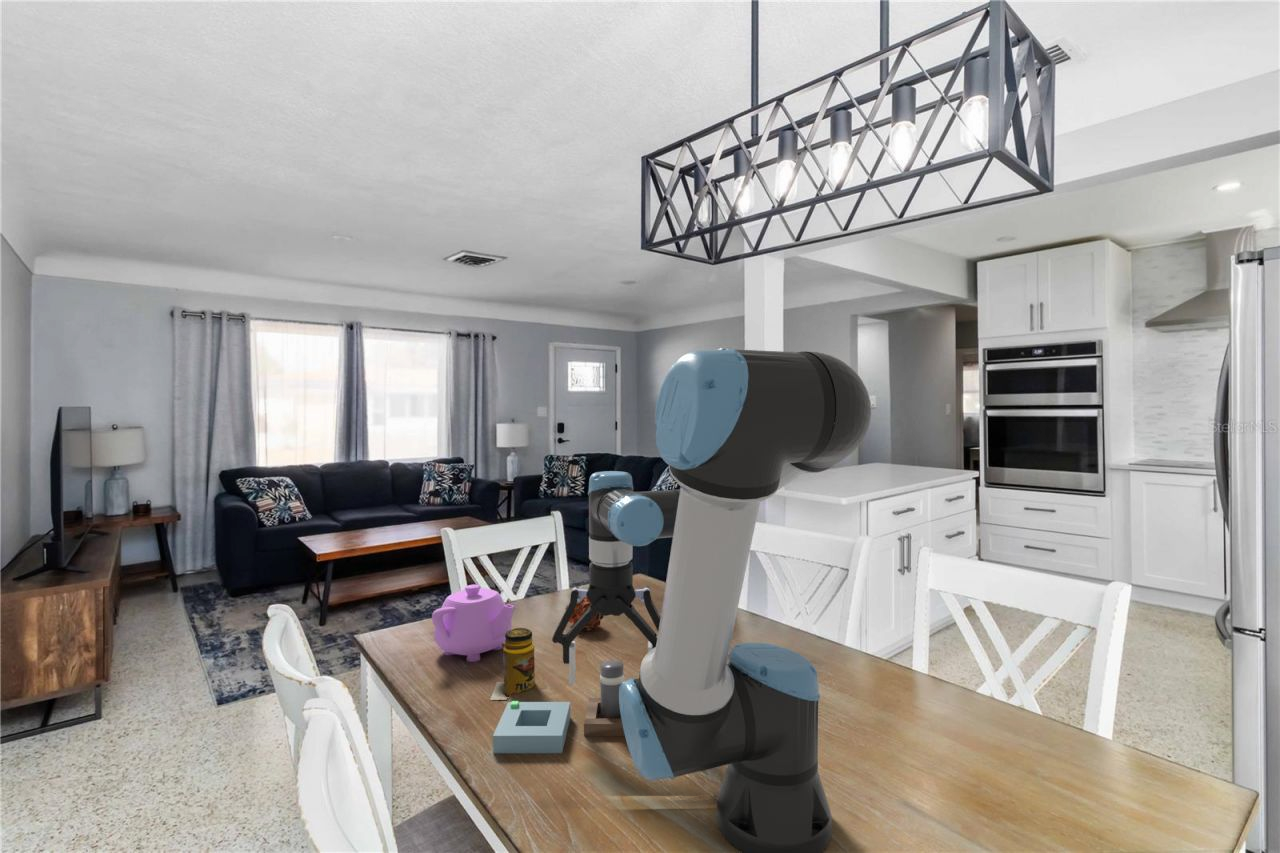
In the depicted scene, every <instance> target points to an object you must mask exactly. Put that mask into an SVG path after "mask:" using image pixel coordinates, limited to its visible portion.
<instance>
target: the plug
mask: <svg viewBox="0 0 1280 853" xmlns="http://www.w3.org/2000/svg"><path fill="white" fill-rule="evenodd" d="M599 665H600V667H599V670H600V672H599V674H600V675H599V679H600V680H599V682H600V698H601V718H621V713H620V705H619V689H620V685H621V684H622V682H624V681H625V679H624V675H625V674H624V663H623V662H621V661H618V660H605V661H604V662H602V663H601V664H599Z"/></svg>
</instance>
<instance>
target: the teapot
mask: <svg viewBox="0 0 1280 853" xmlns="http://www.w3.org/2000/svg"><path fill="white" fill-rule="evenodd" d="M515 607H516V606H515V605H512V604H509V603H507V604H506V603H505V601H504V599H503V597H502V596H501V594H500V593H499V591H496V590H495V589H494V590H493V589H490V588H485V587H484V588H483V587H481V585H480V584H479V585H478V584H469V585H466V586H465V587H464V589H463V590H459V591H457V592H453V593H451V594H450V595H447V597H446V598H445V600H444V602H443V604H442V605H441V607H440V608H437V609H435V610H434V611H433V612H432V614H431V620H432V624H433V625H434V629H433V640H434V643H435V644H436V645H437V646H438V647H439V648H440V649H441V650H442V651H444V652H443V655H444V656H453V655H459V656H466V662H469V663H475V662H478V661H480V660H481V659H482V658H481V654H482V653H485V652H489V651H499V650H503V648H504V646H503V643H505V640H506V639H505V634H506V632H507V631H509V630H511V629H513V628H512V618H513V615H514V611H515V609H516V608H515Z"/></svg>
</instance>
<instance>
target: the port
mask: <svg viewBox="0 0 1280 853" xmlns="http://www.w3.org/2000/svg"><path fill="white" fill-rule="evenodd" d="M570 721H571V701H519V700H512V701H508V702H507V703H506V706H505V708H504V711H503V713H502V715H501V717H500V719H499V721H498V723H497V726H496V728H495V731H494V732H493V735H492V752H493V753H492V754H563V750H564V747H565V742H566V738H567V735H568V734H567V733H568V729H569V725H570Z"/></svg>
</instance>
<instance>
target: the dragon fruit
mask: <svg viewBox="0 0 1280 853" xmlns="http://www.w3.org/2000/svg"><path fill="white" fill-rule="evenodd" d="M590 605H591V603H590V601H589V600H588V599H587V597H584V598H583V599H582V601H581V602H577V605H576V608H575V610H574V612H573V614H572V616H571V618H570V620H569V622H568V623H570V624H572V623H573V624H572V627H573V626H574V625H575V624H576V622H577V621H578V620H579V619H580V618H581V617H582V615H583V614H584V613H585V612H586V611H587V610H588V608H589V607H590ZM567 607H568V605H567V606H566V607H565V611H566V609H567ZM604 618H605V616H602V615H601V614H599V613H597V614H596V615H595V616H594V617H593V618H592V619H591V620H590V621H589V622H588V624H587V625H586V626H585V627H584V628H583V629H582V631H592V630H593V628H598V627H600V626H601V620H603V619H604Z"/></svg>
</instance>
